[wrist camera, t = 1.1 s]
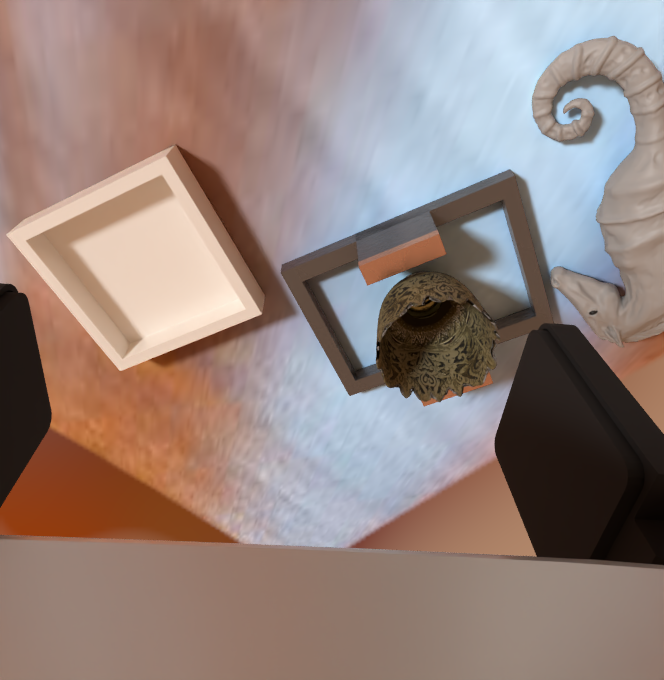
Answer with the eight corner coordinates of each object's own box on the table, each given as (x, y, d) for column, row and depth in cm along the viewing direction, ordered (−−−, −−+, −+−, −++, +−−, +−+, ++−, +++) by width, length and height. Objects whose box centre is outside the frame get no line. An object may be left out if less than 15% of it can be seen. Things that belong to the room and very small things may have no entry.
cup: (460, 336, 42) (486, 406, 35) (363, 332, 42) (370, 401, 35) (481, 245, 38) (515, 305, 31) (373, 239, 37) (384, 298, 31)
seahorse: (453, 125, 33) (589, 376, 39) (674, -4, 26) (792, 326, 33) (468, 101, 36) (590, 333, 43) (664, -17, 29) (771, 282, 36)
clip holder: (509, 168, 35) (534, 195, 31) (548, 316, 41) (574, 355, 37) (281, 263, 38) (276, 300, 34) (349, 387, 45) (352, 430, 40)
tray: (175, 144, 34) (165, 156, 32) (265, 295, 40) (262, 314, 38) (24, 219, 36) (6, 234, 34) (130, 351, 42) (120, 371, 40)
